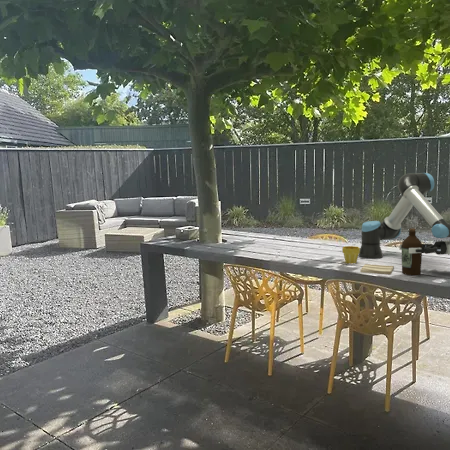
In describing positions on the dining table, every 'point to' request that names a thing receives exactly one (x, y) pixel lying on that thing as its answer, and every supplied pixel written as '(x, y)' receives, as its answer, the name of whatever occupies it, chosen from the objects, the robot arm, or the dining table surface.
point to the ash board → (377, 269)
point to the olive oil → (411, 255)
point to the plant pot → (351, 253)
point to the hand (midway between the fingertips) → (404, 248)
